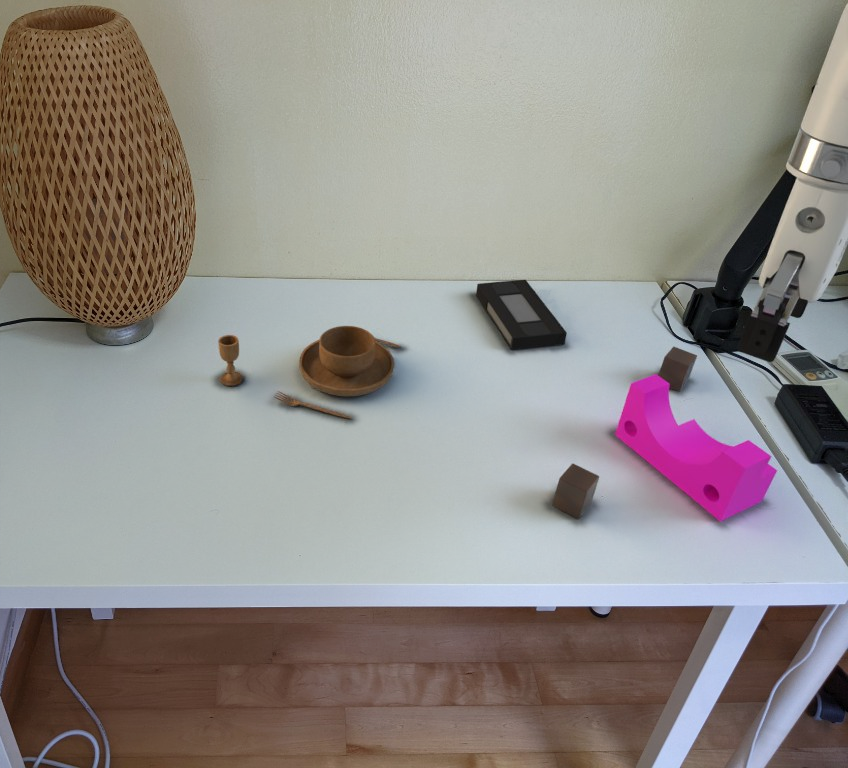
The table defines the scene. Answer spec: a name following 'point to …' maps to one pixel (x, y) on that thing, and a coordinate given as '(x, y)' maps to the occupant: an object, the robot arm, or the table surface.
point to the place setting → (330, 364)
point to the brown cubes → (582, 483)
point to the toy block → (693, 453)
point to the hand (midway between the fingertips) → (769, 333)
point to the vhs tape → (520, 315)
